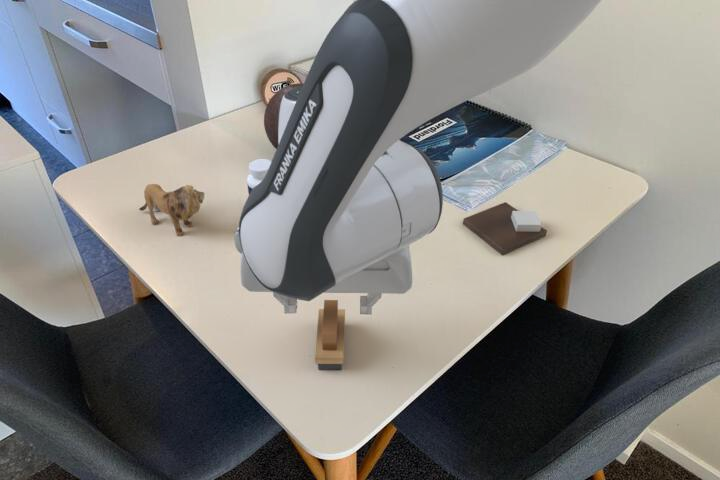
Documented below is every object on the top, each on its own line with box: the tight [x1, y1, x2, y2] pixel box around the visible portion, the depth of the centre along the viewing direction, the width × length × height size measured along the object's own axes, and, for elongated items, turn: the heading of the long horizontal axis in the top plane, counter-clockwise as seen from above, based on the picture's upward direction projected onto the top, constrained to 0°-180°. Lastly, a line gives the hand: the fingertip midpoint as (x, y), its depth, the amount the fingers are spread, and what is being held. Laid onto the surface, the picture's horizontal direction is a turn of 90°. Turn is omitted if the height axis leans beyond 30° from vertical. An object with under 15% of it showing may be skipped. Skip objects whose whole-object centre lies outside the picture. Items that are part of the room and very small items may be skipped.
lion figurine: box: [138, 183, 205, 237], centre depth 88 cm, size 15×5×9 cm, turn 65°
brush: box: [314, 299, 346, 371], centre depth 68 cm, size 8×4×6 cm, turn 0°
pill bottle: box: [246, 158, 272, 195], centre depth 91 cm, size 5×5×10 cm
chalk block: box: [511, 210, 542, 232], centre depth 89 cm, size 4×4×2 cm
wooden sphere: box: [263, 82, 304, 150], centre depth 106 cm, size 15×15×15 cm
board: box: [462, 201, 548, 256], centre depth 90 cm, size 10×10×1 cm
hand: (328, 310), depth 66 cm, fingers open, 8 cm apart
